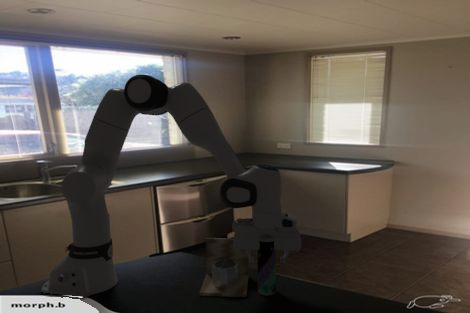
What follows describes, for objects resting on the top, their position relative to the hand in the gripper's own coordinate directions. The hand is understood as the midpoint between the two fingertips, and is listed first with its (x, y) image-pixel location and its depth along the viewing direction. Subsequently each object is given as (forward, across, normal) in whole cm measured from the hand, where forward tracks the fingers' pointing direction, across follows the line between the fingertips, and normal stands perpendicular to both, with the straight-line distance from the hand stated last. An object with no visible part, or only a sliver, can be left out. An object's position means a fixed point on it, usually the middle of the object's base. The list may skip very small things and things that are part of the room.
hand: (267, 263), depth 107 cm
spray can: (+9, 0, 0) cm, 9 cm away
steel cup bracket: (+8, -13, +4) cm, 16 cm away
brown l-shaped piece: (+9, -13, +3) cm, 16 cm away
